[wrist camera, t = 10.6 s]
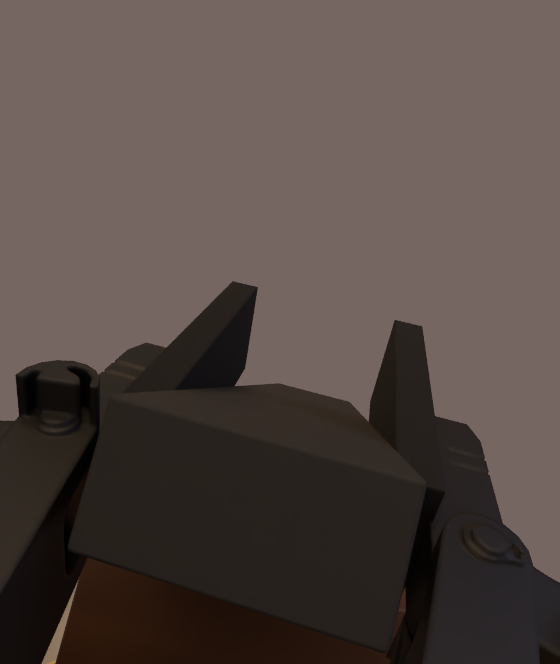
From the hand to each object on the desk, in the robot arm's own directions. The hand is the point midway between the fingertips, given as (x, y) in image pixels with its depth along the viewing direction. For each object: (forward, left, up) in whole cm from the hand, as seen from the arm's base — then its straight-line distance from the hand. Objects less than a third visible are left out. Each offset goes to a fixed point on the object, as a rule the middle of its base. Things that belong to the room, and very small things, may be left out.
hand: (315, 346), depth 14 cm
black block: (-2, +1, -4) cm, 4 cm away
